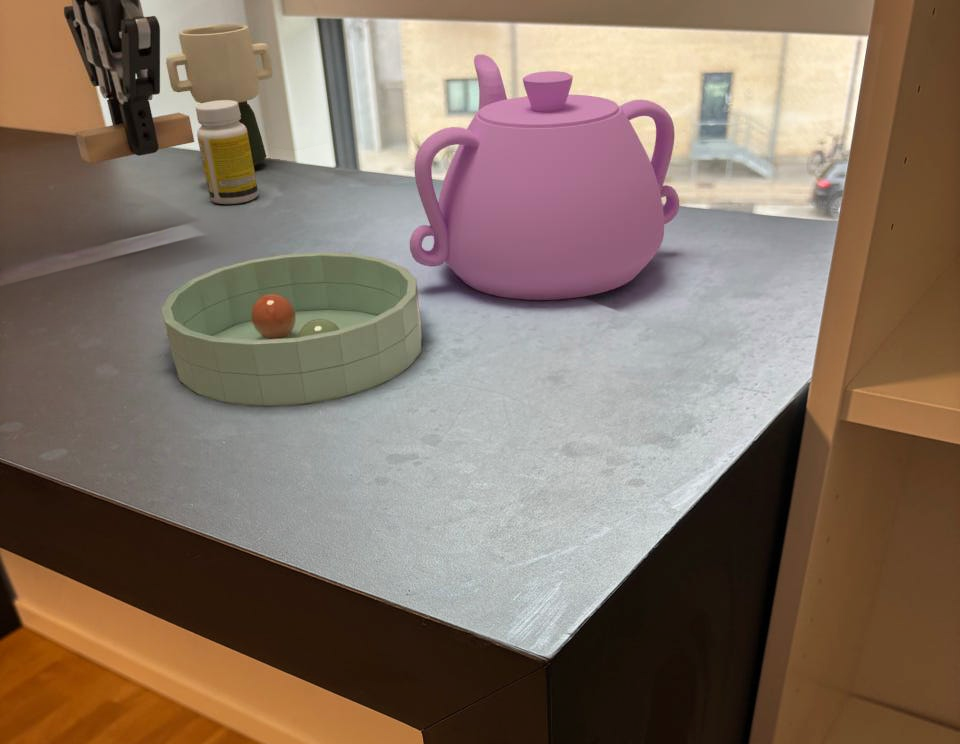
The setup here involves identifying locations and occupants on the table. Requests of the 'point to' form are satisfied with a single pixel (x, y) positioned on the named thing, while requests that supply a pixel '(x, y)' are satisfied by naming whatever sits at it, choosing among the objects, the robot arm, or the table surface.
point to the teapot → (546, 191)
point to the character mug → (223, 71)
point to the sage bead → (317, 327)
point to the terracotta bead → (273, 316)
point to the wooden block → (115, 142)
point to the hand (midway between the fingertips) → (138, 149)
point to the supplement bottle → (225, 153)
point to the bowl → (295, 329)
